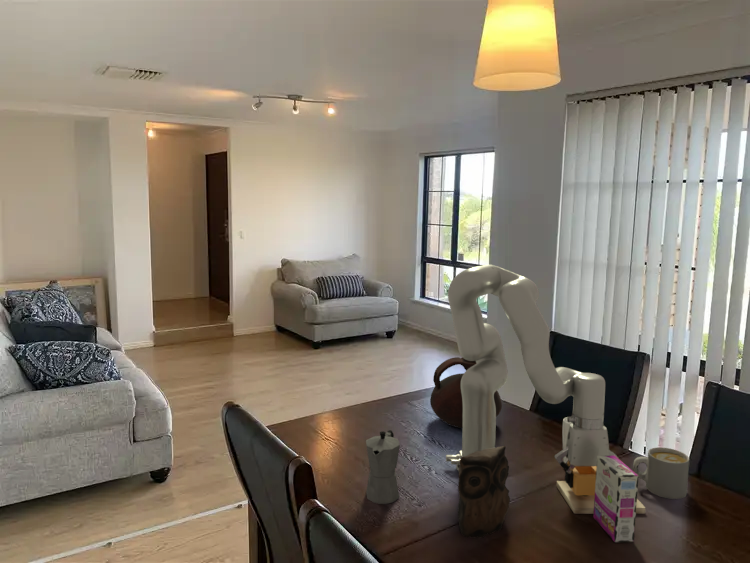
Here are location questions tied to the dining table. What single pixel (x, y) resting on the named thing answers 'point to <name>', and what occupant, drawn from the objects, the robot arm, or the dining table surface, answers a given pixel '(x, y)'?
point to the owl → (483, 492)
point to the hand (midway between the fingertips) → (585, 484)
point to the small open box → (584, 480)
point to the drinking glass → (565, 434)
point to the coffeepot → (382, 468)
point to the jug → (452, 393)
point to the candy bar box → (615, 498)
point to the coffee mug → (665, 472)
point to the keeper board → (584, 500)
